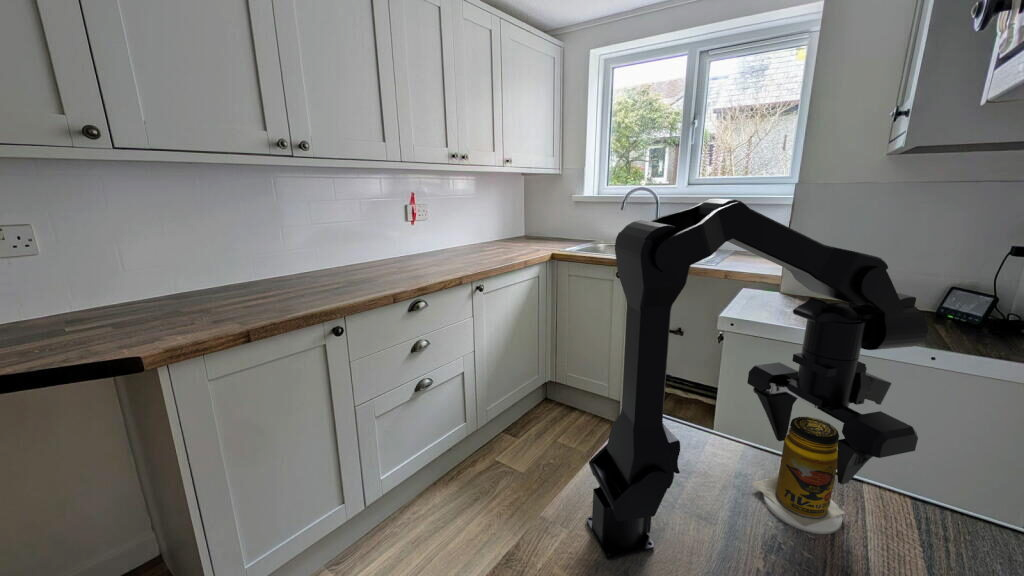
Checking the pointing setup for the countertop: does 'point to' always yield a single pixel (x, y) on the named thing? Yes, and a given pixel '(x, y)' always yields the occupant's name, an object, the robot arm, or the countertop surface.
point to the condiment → (806, 472)
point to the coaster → (818, 528)
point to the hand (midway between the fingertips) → (809, 460)
